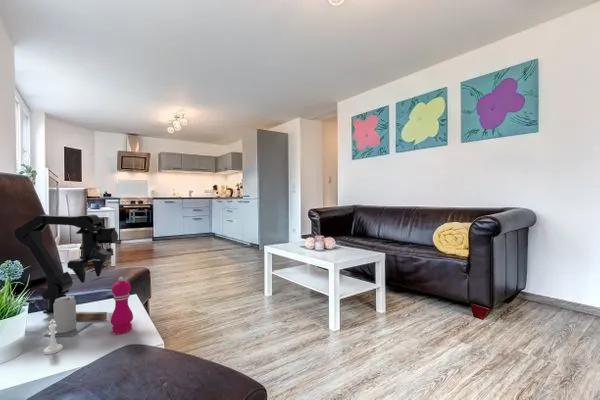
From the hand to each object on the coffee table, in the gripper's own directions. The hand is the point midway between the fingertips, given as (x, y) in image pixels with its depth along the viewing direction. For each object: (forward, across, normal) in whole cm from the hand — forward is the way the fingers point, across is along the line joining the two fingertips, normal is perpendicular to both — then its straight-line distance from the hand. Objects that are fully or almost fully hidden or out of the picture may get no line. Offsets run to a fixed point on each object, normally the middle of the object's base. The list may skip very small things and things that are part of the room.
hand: (90, 279), depth 132 cm
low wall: (+13, -11, -4) cm, 18 cm away
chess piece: (+13, -34, -12) cm, 38 cm away
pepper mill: (+13, -20, -26) cm, 35 cm away
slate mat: (+13, -20, -6) cm, 24 cm away
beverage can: (+13, -22, -6) cm, 26 cm away
